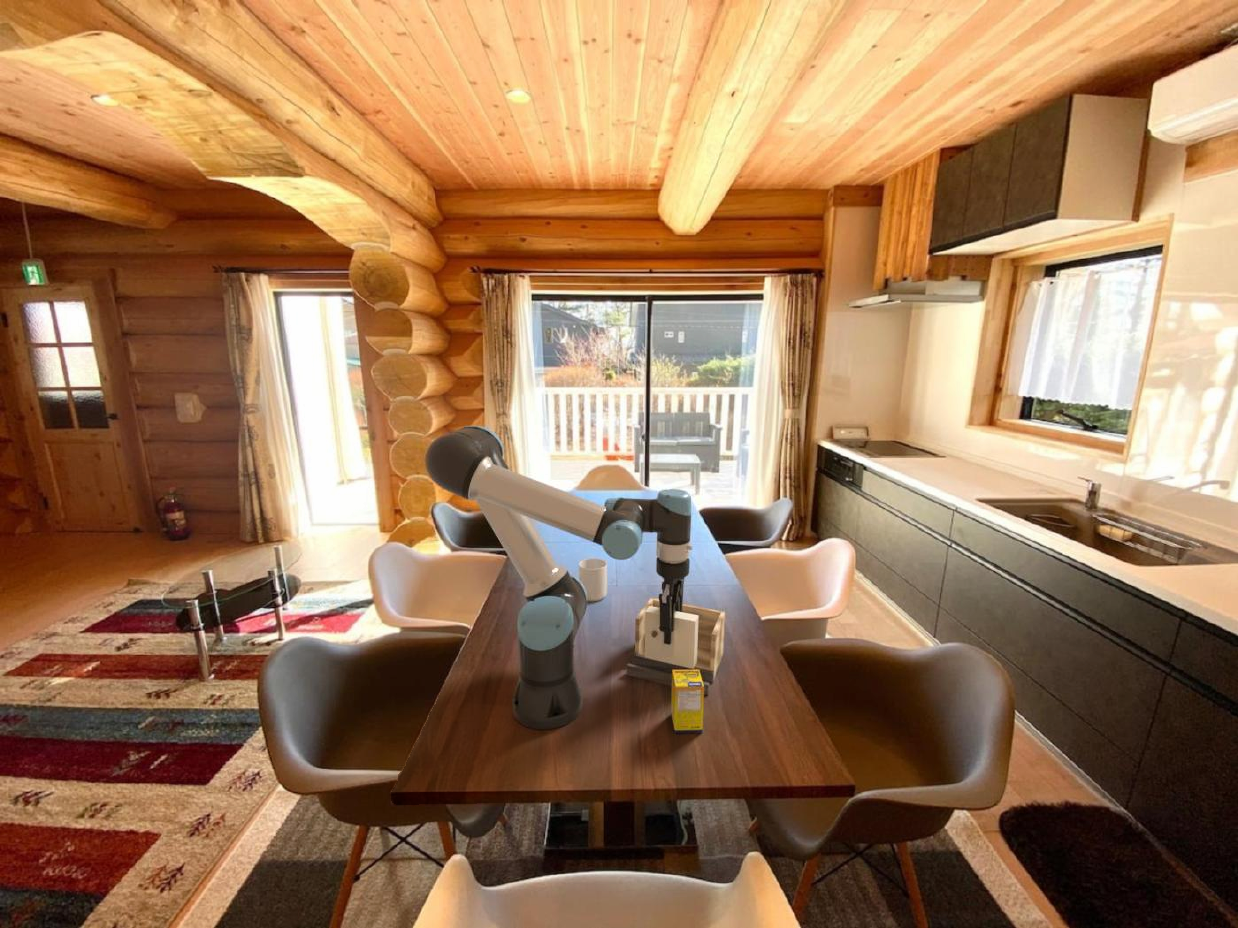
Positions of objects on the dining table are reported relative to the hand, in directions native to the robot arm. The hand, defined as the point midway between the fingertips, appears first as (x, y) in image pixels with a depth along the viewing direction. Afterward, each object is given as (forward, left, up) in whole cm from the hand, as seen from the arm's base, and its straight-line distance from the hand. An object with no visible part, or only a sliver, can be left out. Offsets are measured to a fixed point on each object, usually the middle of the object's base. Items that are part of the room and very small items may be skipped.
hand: (670, 649), depth 123 cm
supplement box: (-14, -8, -8) cm, 17 cm away
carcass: (+7, 0, -7) cm, 10 cm away
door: (0, 0, -3) cm, 3 cm away
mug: (+33, +35, -8) cm, 49 cm away
